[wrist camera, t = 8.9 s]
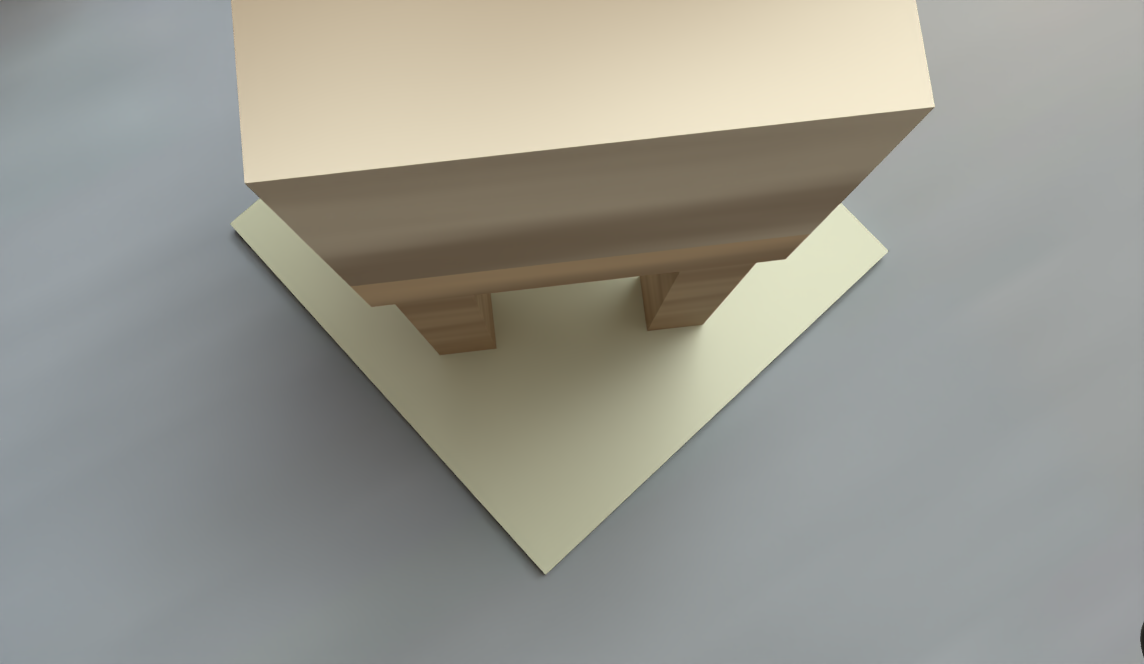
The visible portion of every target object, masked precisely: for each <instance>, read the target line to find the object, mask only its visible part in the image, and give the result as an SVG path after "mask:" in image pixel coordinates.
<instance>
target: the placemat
mask: <svg viewBox="0 0 1144 664" xmlns="http://www.w3.org/2000/svg"><path fill="white" fill-rule="evenodd" d="M230 224H231V226H232V227H233V228H234V229H235V230H236V231H237V232H238V233H239V234H240V236H241V237H242V238H243V239H244V240H245V241H246V242H247V243H248V244H249V246H250V247H251V248H252V249H253V250H254V251H255V252H256V253H257V254H258V256H259V257H260V258H261V259H262V260H263V261H264V262H265V263H266V264H267V266H268V267H269V268H270V269H271V270H272V271H273V272H274V273H275V274H276V276H277V277H278V278H279V279H280V280H281V281H282V282H283V283H284V284H285V286H286V287H287V288H288V289H289V290H290V291H291V292H292V293H293V294H294V296H295V297H296V298H297V299H298V300H299V301H300V302H301V303H302V304H303V306H304V307H305V308H306V309H307V310H308V311H309V312H310V313H311V314H312V316H313V317H314V318H315V319H316V320H317V321H318V322H319V323H320V324H321V326H322V327H323V328H324V329H325V330H326V331H327V332H328V333H329V335H330V336H331V337H332V338H333V339H334V340H335V341H336V342H337V343H338V345H339V346H340V347H341V348H342V349H343V350H344V351H345V352H346V353H347V355H348V356H349V357H350V358H351V359H352V360H353V361H354V362H355V363H356V365H357V366H358V367H359V368H360V369H361V370H362V371H363V372H364V373H365V375H366V376H367V377H368V378H369V379H370V380H371V381H372V382H373V383H374V385H375V386H376V387H377V388H378V389H379V390H380V391H381V392H382V393H383V395H384V396H385V397H386V398H387V399H388V400H389V401H390V402H391V403H392V405H393V406H394V407H395V408H396V409H397V410H398V411H399V412H400V413H401V415H402V416H403V417H404V418H405V419H406V420H407V421H408V422H409V423H410V425H411V426H412V427H413V428H414V429H415V430H416V431H417V432H418V433H419V435H420V436H421V437H422V438H423V439H424V440H425V441H426V442H427V443H428V445H429V446H430V447H431V448H432V449H433V450H434V451H435V452H436V453H437V455H438V456H439V457H440V458H441V459H442V460H443V461H444V462H445V463H446V465H447V466H448V467H449V468H450V469H451V470H452V471H453V472H454V474H455V475H456V476H457V477H458V478H459V479H460V480H461V481H462V482H463V484H464V485H465V486H466V487H467V488H468V489H469V490H470V491H471V492H472V494H473V495H474V496H475V497H476V498H477V499H478V500H479V501H480V502H481V504H482V505H483V506H484V507H485V508H486V509H487V510H488V511H489V512H490V514H491V515H492V516H493V517H494V518H495V519H496V520H497V521H498V522H499V524H500V525H501V526H502V527H503V528H504V529H505V530H506V531H507V532H508V534H509V535H510V536H511V537H512V538H513V539H514V540H515V541H516V542H517V544H518V545H519V546H520V547H521V548H522V549H523V550H524V551H525V552H526V554H527V555H528V556H529V557H530V558H531V559H532V560H533V561H534V562H535V564H536V565H537V566H538V567H539V568H540V569H541V570H542V571H543V572H544V574H545V575H546V574H547V573H548V572H549V571H550V570H551V569H552V568H553V567H554V566H555V565H557V564H558V563H559V562H560V561H561V560H562V559H563V558H564V557H565V556H566V555H567V554H568V553H569V552H570V551H571V550H572V549H573V548H575V547H576V546H577V545H578V544H579V543H580V542H581V541H582V540H583V539H584V538H585V537H586V536H587V535H588V534H589V533H590V532H592V531H593V530H594V529H595V528H596V527H597V526H598V525H599V524H600V523H601V522H602V521H603V520H604V519H605V518H606V517H607V516H608V515H610V514H611V513H612V512H613V511H614V510H615V509H616V508H617V507H618V506H619V505H620V504H621V503H622V502H623V501H624V500H625V499H626V498H628V497H629V496H630V495H631V494H632V493H633V492H634V491H635V490H636V489H637V488H638V487H639V486H640V485H641V484H642V483H643V482H644V481H646V480H647V479H648V478H649V477H650V476H651V475H652V474H653V473H654V472H655V471H656V470H657V469H658V468H659V467H660V466H661V465H663V464H664V463H665V462H666V461H667V460H668V459H669V458H670V457H671V456H672V455H673V454H674V453H675V452H676V451H677V450H678V449H679V448H681V447H682V446H683V445H684V444H685V443H686V442H687V441H688V440H689V439H690V438H691V437H692V436H693V435H694V434H695V433H696V432H697V431H699V430H700V429H701V428H702V427H703V426H704V425H705V424H706V423H707V422H708V421H709V420H710V419H711V418H712V417H713V416H714V415H715V414H717V413H718V412H719V411H720V410H721V409H722V408H723V407H724V406H725V405H726V404H727V403H728V402H729V401H730V400H731V399H732V398H734V397H735V396H736V395H737V394H738V393H739V392H740V391H741V390H742V389H743V388H744V387H745V386H746V385H747V384H748V383H749V382H750V381H752V380H753V379H754V378H755V377H756V376H757V375H758V374H759V373H760V372H761V371H762V370H763V369H764V368H765V367H766V366H767V365H768V364H770V363H771V362H772V361H773V360H774V359H775V358H776V357H777V356H778V355H779V354H780V353H781V352H782V351H783V350H784V349H785V348H786V347H788V346H789V345H790V344H791V343H792V342H793V341H794V340H795V339H796V338H797V337H798V336H799V335H800V334H801V333H802V332H803V331H805V330H806V329H807V328H808V327H809V326H810V325H811V324H812V323H813V322H814V321H815V320H816V319H817V318H818V317H819V316H820V315H821V314H823V313H824V312H825V311H826V310H827V309H828V308H829V307H830V306H831V305H832V304H833V303H834V302H835V301H836V300H837V299H838V298H839V297H841V296H842V295H843V294H844V293H845V292H846V291H847V290H848V289H849V288H850V287H851V286H852V285H853V284H854V283H855V282H856V281H857V280H859V279H860V278H861V277H862V276H863V275H864V274H865V273H866V272H867V271H868V270H869V269H870V268H871V267H872V266H873V265H874V264H876V263H877V262H878V261H879V260H880V259H881V258H882V257H883V256H884V255H885V254H886V253H887V252H888V250H887V249H886V248H885V247H884V246H883V245H882V244H881V243H880V242H879V241H878V240H877V239H876V238H875V237H874V236H873V235H872V234H871V233H870V232H869V231H868V230H867V229H866V228H865V227H864V226H863V225H862V224H861V223H860V222H859V221H858V220H857V219H856V218H855V217H854V216H853V215H852V214H851V213H850V212H849V211H848V210H847V209H846V208H845V207H844V206H843V205H842V204H841V203H840V204H839V205H838V206H837V207H836V208H835V209H834V210H833V211H832V212H831V213H830V214H829V215H828V216H827V218H826V219H825V220H824V221H823V222H822V223H821V224H820V225H819V226H818V227H817V228H816V229H815V230H814V231H813V232H812V233H811V234H810V235H809V236H808V237H807V238H806V239H805V240H804V241H803V242H802V243H801V244H800V245H799V246H798V247H797V248H796V249H795V250H794V251H793V252H792V253H791V254H790V255H789V256H788V257H787V258H786V259H785V260H776V261H768V262H759V263H756V264H755V265H754V266H753V267H752V269H751V270H750V271H749V272H748V273H747V274H746V276H745V277H744V278H743V279H742V280H741V281H740V282H739V284H738V285H737V286H736V287H735V288H734V289H733V291H732V292H731V293H730V294H729V295H728V296H727V297H726V299H725V300H724V301H723V302H722V303H721V304H720V306H719V307H718V308H717V309H716V310H715V311H714V312H713V314H712V315H711V316H710V317H709V318H708V319H707V321H706V322H705V323H704V324H703V325H695V326H686V327H678V328H669V329H660V330H652V331H647V327H646V320H645V312H644V304H643V297H642V289H641V282H640V276H637V277H628V278H620V279H611V280H602V281H593V282H585V283H576V284H567V285H559V286H550V287H541V288H533V289H524V290H515V291H506V292H498V293H491V301H492V310H493V320H494V329H495V338H496V347H497V349H489V350H480V351H471V352H463V353H454V354H446V355H439V354H438V352H437V351H436V350H435V349H434V348H433V347H432V346H431V344H430V343H429V342H428V341H427V340H426V339H425V338H424V337H423V335H422V334H421V333H420V332H419V331H418V330H417V329H416V327H415V326H414V325H413V324H412V323H411V322H410V321H409V319H408V318H407V317H406V316H405V315H404V314H403V313H402V312H401V310H400V309H399V308H398V307H397V306H396V305H395V304H393V305H384V306H376V307H371V306H370V305H369V304H368V303H367V302H366V301H365V300H364V299H363V298H362V297H361V296H360V295H359V294H358V293H357V292H355V291H354V290H353V289H352V288H351V287H350V286H349V285H348V284H347V283H346V282H345V281H344V280H343V279H342V278H341V277H340V276H339V275H338V274H337V273H336V272H335V271H334V270H333V269H332V268H331V267H330V266H329V265H328V264H327V263H326V262H325V261H324V260H323V259H322V258H321V257H320V256H319V255H318V254H317V253H316V252H315V251H314V250H312V249H311V248H310V247H309V246H308V245H307V244H306V243H305V242H304V241H303V240H302V239H301V238H300V237H299V236H298V235H297V234H296V233H295V232H294V231H293V230H292V229H291V228H290V227H289V226H288V225H287V224H286V223H285V222H284V221H283V220H282V219H281V218H280V217H279V216H278V215H277V214H276V213H275V212H274V211H273V210H272V209H271V208H270V207H268V206H267V205H266V204H265V203H264V202H263V201H262V200H261V199H259V200H257V201H256V202H255V203H254V204H253V205H251V206H250V207H249V208H248V209H247V210H246V211H244V212H243V213H242V214H241V215H240V216H239V217H237V218H236V219H235V220H234V221H233V222H232V223H230Z"/></svg>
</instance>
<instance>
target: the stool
mask: <svg viewBox="0 0 1144 664" xmlns="http://www.w3.org/2000/svg"><path fill="white" fill-rule="evenodd" d="M231 5H232V18H233V32H234V45H235V59H236V72H237V86H238V99H239V113H240V126H241V140H242V153H243V167H244V180H245V184H246V185H247V186H248V187H249V188H250V189H251V190H252V191H253V192H254V193H255V194H256V195H257V196H258V197H259V198H260V199H261V200H262V201H263V202H264V203H265V204H266V205H267V206H268V207H270V208H271V209H272V210H273V211H274V212H275V213H276V214H277V215H278V216H279V217H280V218H281V219H282V220H283V221H284V222H285V223H286V224H287V225H288V226H289V227H290V228H291V229H292V230H293V231H294V232H295V233H296V234H297V235H298V236H299V237H300V238H301V239H302V240H303V241H304V242H305V243H306V244H307V245H308V246H309V247H310V248H311V249H312V250H314V251H315V252H316V253H317V254H318V255H319V256H320V257H321V258H322V259H323V260H324V261H325V262H326V263H327V264H328V265H329V266H330V267H331V268H332V269H333V270H334V271H335V272H336V273H337V274H338V275H339V276H340V277H341V278H342V279H343V280H344V281H345V282H346V283H347V284H348V285H349V286H350V287H351V288H352V289H353V290H354V291H355V292H357V293H358V294H359V295H360V296H361V297H362V298H363V299H364V300H365V301H366V302H367V303H368V304H369V305H370V306H371V307H376V306H384V305H393V304H395V305H396V306H397V307H398V308H399V309H400V310H401V312H402V313H403V314H404V315H405V316H406V317H407V318H408V319H409V321H410V322H411V323H412V324H413V325H414V326H415V327H416V329H417V330H418V331H419V332H420V333H421V334H422V335H423V337H424V338H425V339H426V340H427V341H428V342H429V343H430V344H431V346H432V347H433V348H434V349H435V350H436V351H437V352H438V354H439V355H446V354H454V353H463V352H471V351H480V350H489V349H497V347H496V338H495V329H494V320H493V310H492V301H491V293H498V292H506V291H515V290H524V289H533V288H541V287H550V286H559V285H567V284H576V283H585V282H593V281H602V280H611V279H620V278H628V277H637V276H640V282H641V289H642V297H643V304H644V312H645V320H646V327H647V331H652V330H660V329H669V328H678V327H686V326H695V325H703V324H704V323H705V322H706V321H707V319H708V318H709V317H710V316H711V315H712V314H713V312H714V311H715V310H716V309H717V308H718V307H719V306H720V304H721V303H722V302H723V301H724V300H725V299H726V297H727V296H728V295H729V294H730V293H731V292H732V291H733V289H734V288H735V287H736V286H737V285H738V284H739V282H740V281H741V280H742V279H743V278H744V277H745V276H746V274H747V273H748V272H749V271H750V270H751V269H752V267H753V266H754V265H755V264H756V263H759V262H768V261H776V260H785V259H786V258H787V257H788V256H789V255H790V254H791V253H792V252H793V251H794V250H795V249H796V248H797V247H798V246H799V245H800V244H801V243H802V242H803V241H804V240H805V239H806V238H807V237H808V236H809V235H810V234H811V233H812V232H813V231H814V230H815V229H816V228H817V227H818V226H819V225H820V224H821V223H822V222H823V221H824V220H825V219H826V218H827V216H828V215H829V214H830V213H831V212H832V211H833V210H834V209H835V208H836V207H837V206H838V205H839V204H840V203H841V202H842V201H843V200H844V199H845V198H846V197H847V196H848V195H849V194H850V193H851V192H852V191H853V190H854V189H855V188H856V187H857V186H858V185H859V184H860V183H861V182H862V181H863V180H864V179H865V178H866V177H867V176H868V175H869V174H870V173H871V172H872V171H873V170H874V168H875V167H876V166H877V165H878V164H879V163H880V162H881V161H882V160H883V159H884V158H885V157H886V156H887V155H888V154H889V153H890V152H891V151H892V150H893V149H894V148H895V147H896V146H897V145H898V144H899V143H900V142H901V141H902V140H903V139H904V138H905V137H906V136H907V135H908V134H909V133H910V132H911V131H912V130H913V129H914V128H915V127H916V126H917V125H918V124H919V123H920V122H921V121H922V119H923V118H924V117H925V116H926V115H927V114H928V113H929V112H930V111H931V110H932V109H933V108H934V107H935V105H934V99H933V94H932V88H931V83H930V77H929V72H928V66H927V61H926V55H925V49H924V44H923V38H922V33H921V27H920V22H919V16H918V11H917V5H916V0H231Z"/></svg>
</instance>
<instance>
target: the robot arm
mask: <svg viewBox="0 0 1144 664" xmlns="http://www.w3.org/2000/svg"><path fill="white" fill-rule="evenodd" d="M1140 641H1141V649H1142V653H1143V656H1144V623H1143V625H1142V629H1141V637H1140Z"/></svg>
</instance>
